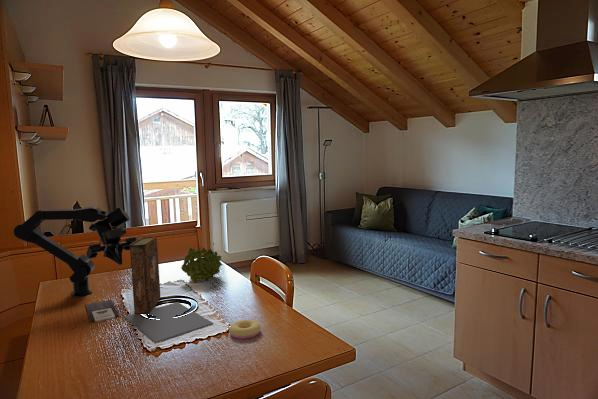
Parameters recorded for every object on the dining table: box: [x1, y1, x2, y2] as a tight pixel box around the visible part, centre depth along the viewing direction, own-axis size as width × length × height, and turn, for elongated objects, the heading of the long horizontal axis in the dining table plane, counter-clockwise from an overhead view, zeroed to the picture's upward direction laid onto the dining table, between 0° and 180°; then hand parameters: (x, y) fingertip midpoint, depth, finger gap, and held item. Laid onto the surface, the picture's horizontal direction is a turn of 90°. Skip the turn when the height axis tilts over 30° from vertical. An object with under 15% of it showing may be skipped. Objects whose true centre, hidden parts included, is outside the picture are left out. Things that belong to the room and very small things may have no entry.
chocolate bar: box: [85, 299, 120, 324], centre depth 150 cm, size 9×1×18 cm
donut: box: [228, 319, 262, 340], centre depth 132 cm, size 10×5×9 cm
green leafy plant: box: [180, 247, 223, 283], centre depth 185 cm, size 18×16×16 cm
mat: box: [124, 301, 214, 344], centre depth 142 cm, size 26×20×1 cm
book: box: [129, 236, 161, 315], centre depth 153 cm, size 16×6×25 cm, turn 5°
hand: (121, 264), depth 161 cm, fingers closed
